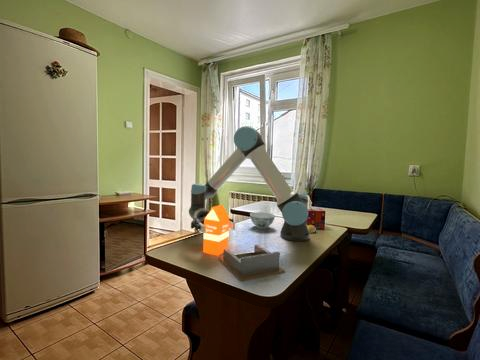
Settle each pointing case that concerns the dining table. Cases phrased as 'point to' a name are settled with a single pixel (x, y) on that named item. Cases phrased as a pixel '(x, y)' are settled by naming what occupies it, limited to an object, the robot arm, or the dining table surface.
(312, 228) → the bread roll
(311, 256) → the dining table surface
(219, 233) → the orange juice
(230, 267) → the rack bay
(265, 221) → the chinaware
